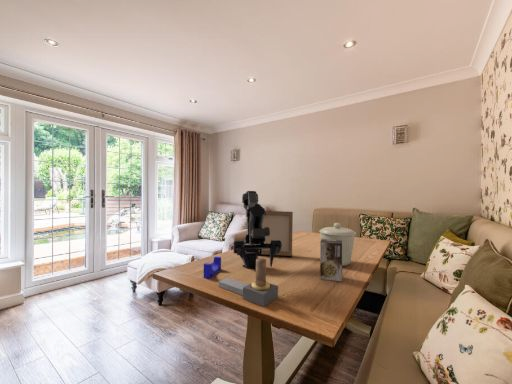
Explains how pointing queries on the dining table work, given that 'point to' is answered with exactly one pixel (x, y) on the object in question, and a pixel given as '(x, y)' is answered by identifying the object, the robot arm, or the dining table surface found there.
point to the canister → (340, 234)
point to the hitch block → (250, 291)
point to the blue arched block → (212, 267)
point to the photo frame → (279, 230)
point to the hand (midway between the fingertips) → (259, 266)
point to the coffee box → (331, 259)
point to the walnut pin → (260, 276)
